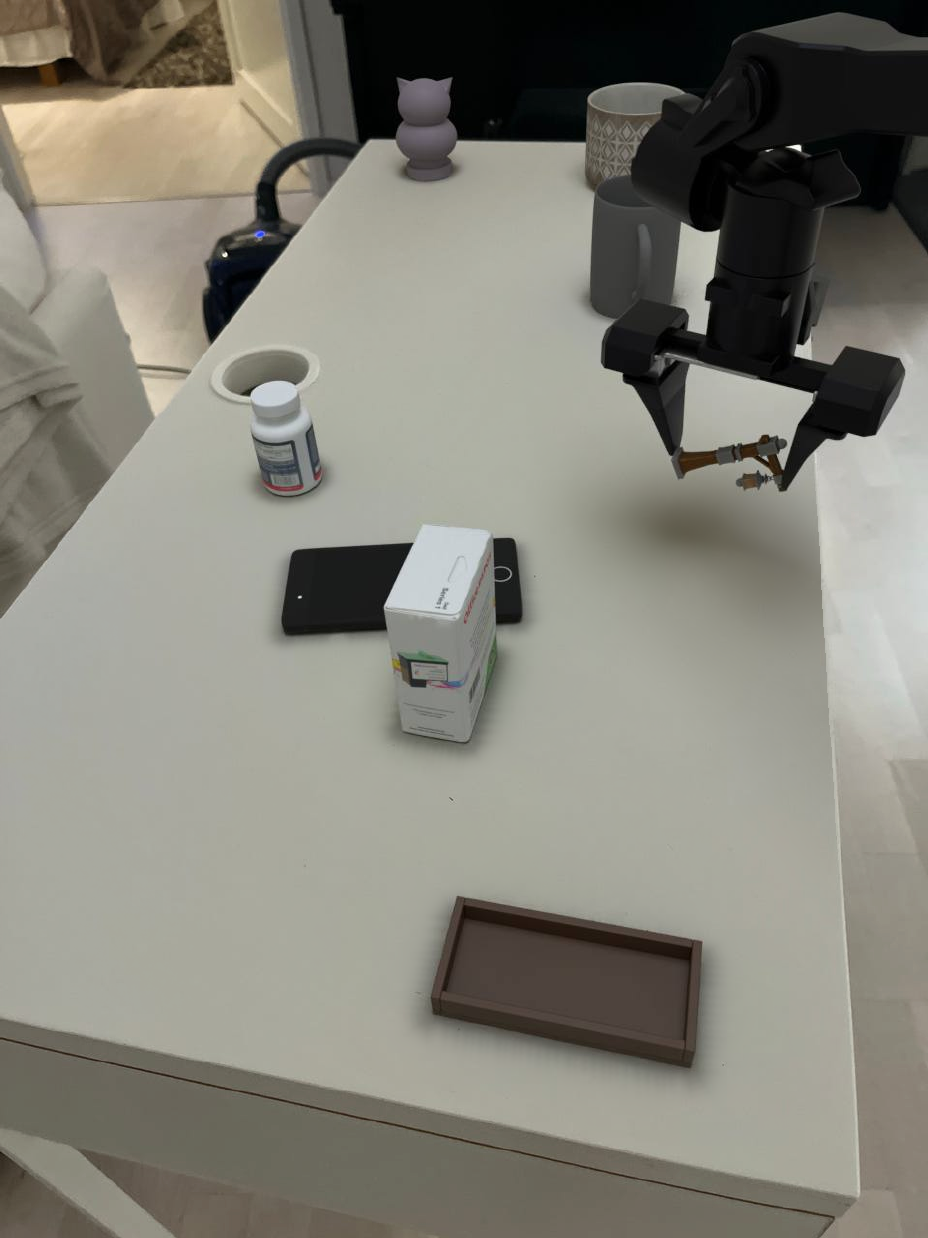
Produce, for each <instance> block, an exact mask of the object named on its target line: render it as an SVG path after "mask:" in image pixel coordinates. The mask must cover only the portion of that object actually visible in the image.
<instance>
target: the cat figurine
mask: <svg viewBox="0 0 928 1238" xmlns="http://www.w3.org/2000/svg"><path fill="white" fill-rule="evenodd" d="M396 81H397V86H398V91H399V96H398V100H397V108H398V112H399V115H400V116H401V118H402V121H401V123H399V125H398V127H397V131H396V134H395V143H396V146H397V148H398V149H399V151H400V152H401V154H402V155H403V156H404V157H405V158H407V159H409V160H407V161H406V174H407V176H408V177H409V178H410V179H411V180H415V181H420V182H421V181H422V182H432V181H439V180H442V179H445V178H447V177H449V176H450V175H451V174H453V161H452V158H451V157H449V155H451V154H452V152H453V151H454V150H455V148H456V146H457V142H458V131H457V129H456V127H455V125H454V124H453V122H451V121H450V119H449V118H448V116H449V114H450V110H451V106H452V105H451V102H452V101H451V97H450V91H451V86H452V81H453V76H452V77H448V78H445V79H440V80H434V79H431V78H426V77H425V78H424V77H423V78H416V79H414V80H411V81H410V80H407V79H404V78H400V77H396Z"/></svg>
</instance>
